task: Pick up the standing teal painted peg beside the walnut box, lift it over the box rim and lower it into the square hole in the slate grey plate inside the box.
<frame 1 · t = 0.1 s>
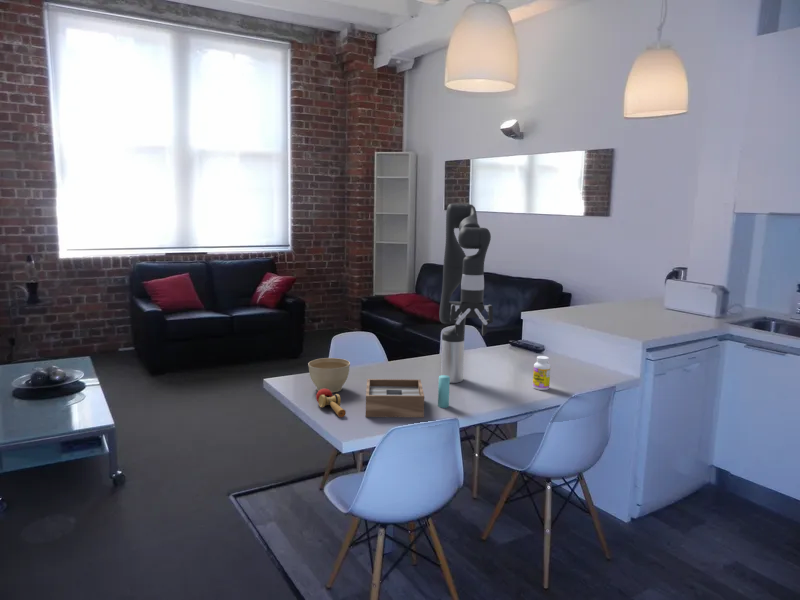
hand: (470, 335, 202), 29 cm above the table, tool pointing down, fingers open, 8 cm apart
peg: (443, 406, 218), on the table
kendama: (331, 410, 212), on the table
supplement bottle: (540, 388, 242), on the table
planter bowl: (329, 390, 234), on the table
bore box: (394, 407, 215), on the table
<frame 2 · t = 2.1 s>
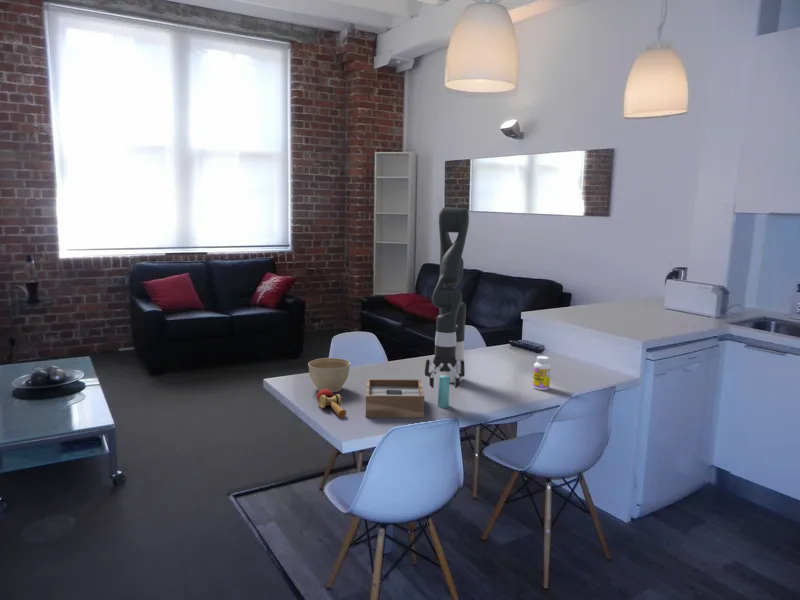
hand: (444, 387, 216), 7 cm above the table, tool pointing down, fingers open, 8 cm apart
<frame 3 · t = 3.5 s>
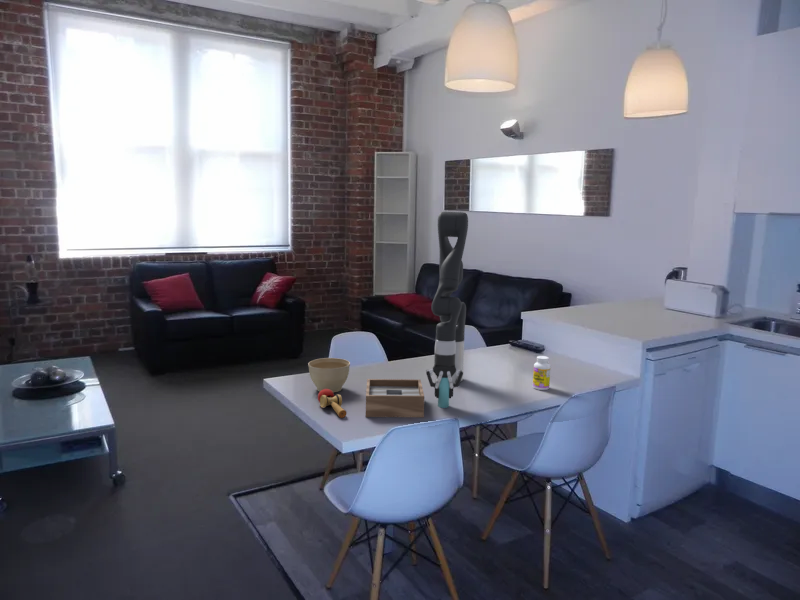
hand: (443, 397, 217), 3 cm above the table, tool pointing down, fingers closed on peg, 4 cm apart
peg: (443, 406, 218), on the table, touching gripper
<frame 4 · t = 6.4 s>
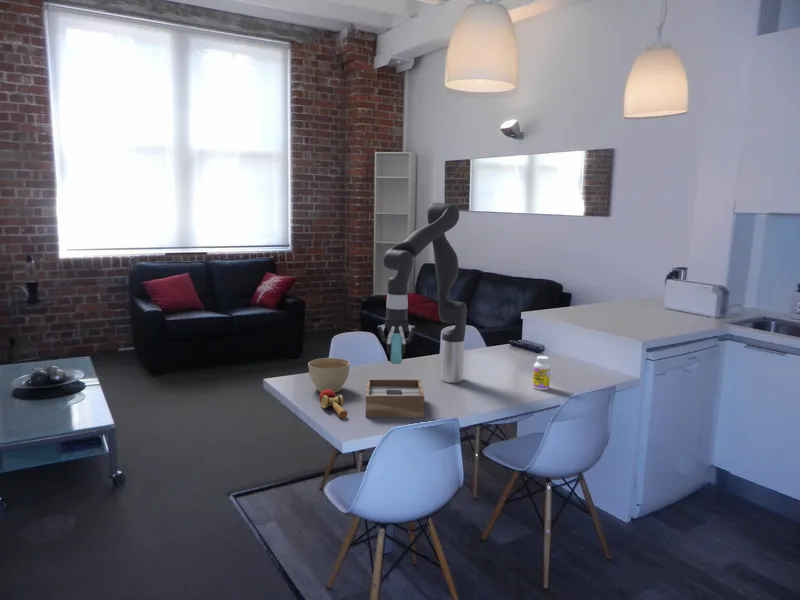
hand: (396, 353, 214), 19 cm above the table, tool pointing down, fingers closed on peg, 4 cm apart
peg: (395, 362, 214), point 16 cm above the table, touching gripper
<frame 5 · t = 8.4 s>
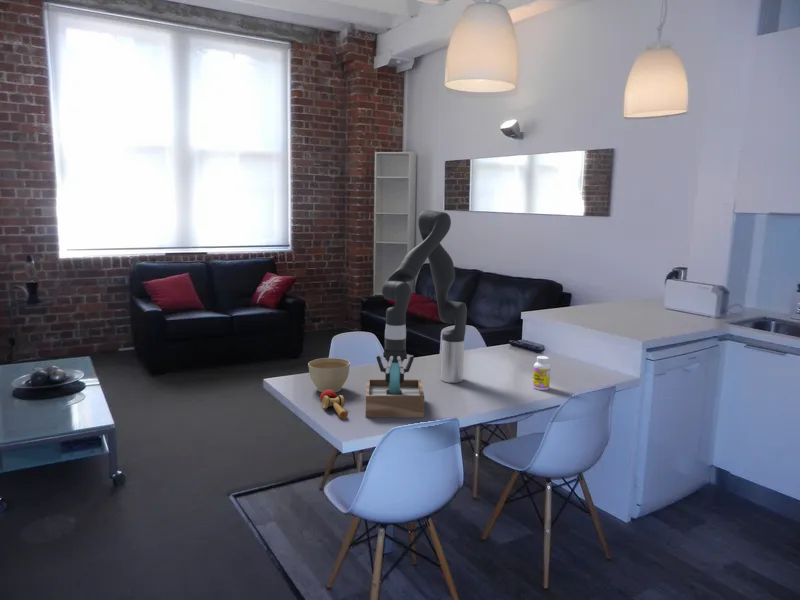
hand: (394, 382, 216), 9 cm above the table, tool pointing down, fingers closed on peg, 4 cm apart
peg: (394, 391, 216), point 5 cm above the table, touching gripper
when the fingers open (6 cm above the table, at t = 9.6 s): peg drops 3 cm, resting in bore box.
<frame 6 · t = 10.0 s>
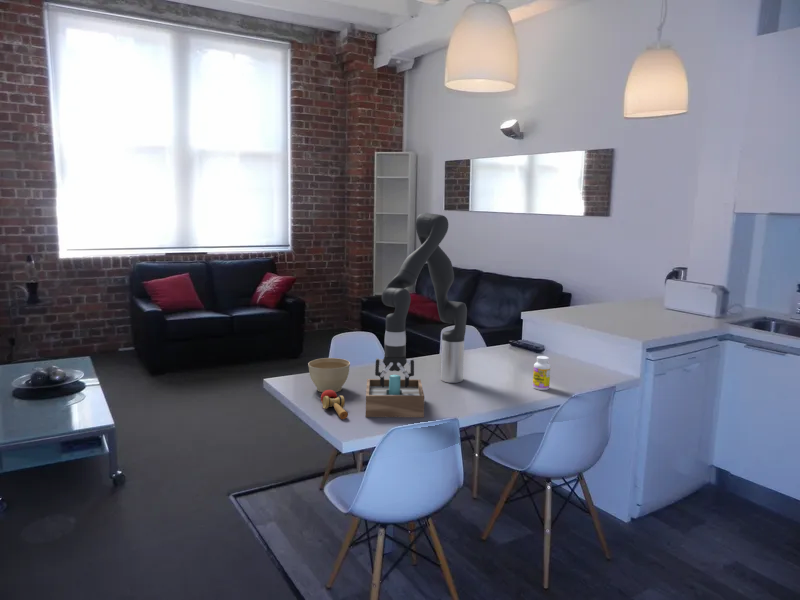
hand: (394, 386, 216), 7 cm above the table, tool pointing down, fingers open, 8 cm apart
peg: (394, 405, 217), resting in bore box
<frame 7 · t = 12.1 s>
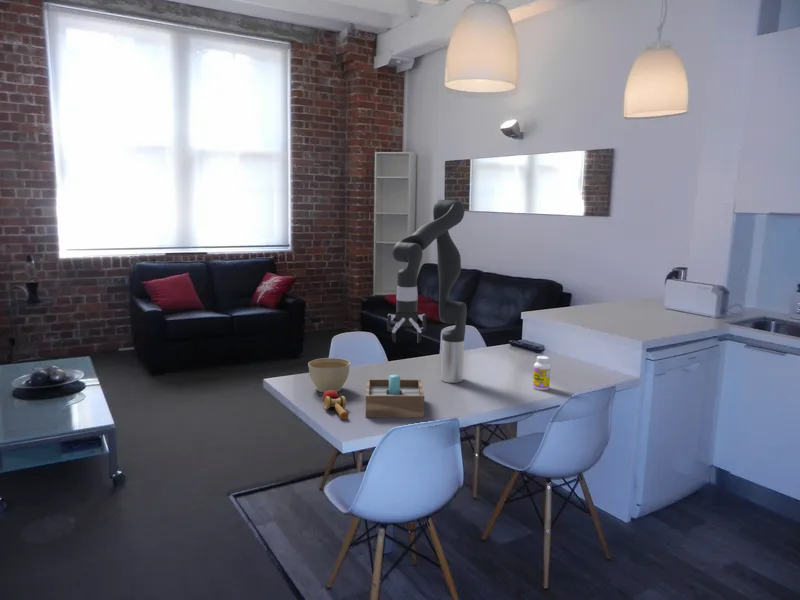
hand: (406, 342, 217), 23 cm above the table, tool pointing down, fingers open, 8 cm apart
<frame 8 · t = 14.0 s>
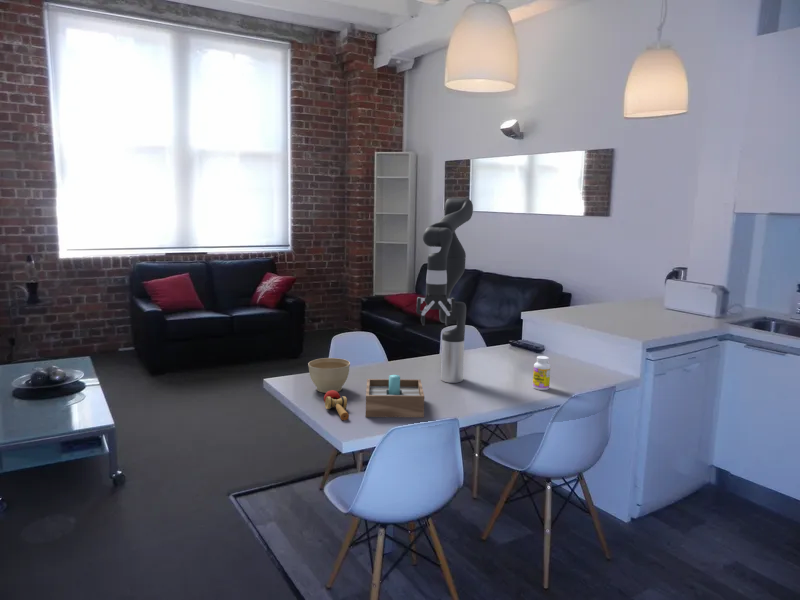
hand: (435, 325, 222), 28 cm above the table, tool pointing down, fingers open, 8 cm apart
at the end: peg 0.1 cm from the target spot on the bore box, point 0.0 cm above the bore box's base; peg tilted 0°; the gripper is holding nothing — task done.
